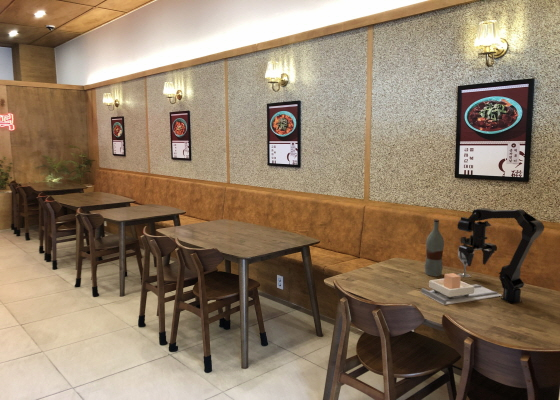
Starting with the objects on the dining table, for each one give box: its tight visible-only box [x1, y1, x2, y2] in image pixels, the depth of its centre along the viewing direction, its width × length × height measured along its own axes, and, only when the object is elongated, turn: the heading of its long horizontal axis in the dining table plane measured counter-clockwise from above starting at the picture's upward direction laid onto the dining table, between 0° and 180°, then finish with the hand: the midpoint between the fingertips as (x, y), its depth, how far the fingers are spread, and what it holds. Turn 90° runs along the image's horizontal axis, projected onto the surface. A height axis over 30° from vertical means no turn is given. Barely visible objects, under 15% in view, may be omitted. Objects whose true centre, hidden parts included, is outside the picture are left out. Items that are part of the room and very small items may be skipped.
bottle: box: [424, 218, 445, 277], centre depth 237 cm, size 9×9×30 cm
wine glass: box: [457, 247, 475, 278], centre depth 236 cm, size 8×8×15 cm
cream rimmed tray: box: [428, 278, 474, 299], centre depth 206 cm, size 14×14×5 cm
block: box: [443, 272, 462, 289], centre depth 206 cm, size 5×5×6 cm
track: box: [420, 284, 503, 306], centre depth 209 cm, size 16×34×2 cm, turn 110°
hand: (476, 265), depth 215 cm, fingers open, 9 cm apart
